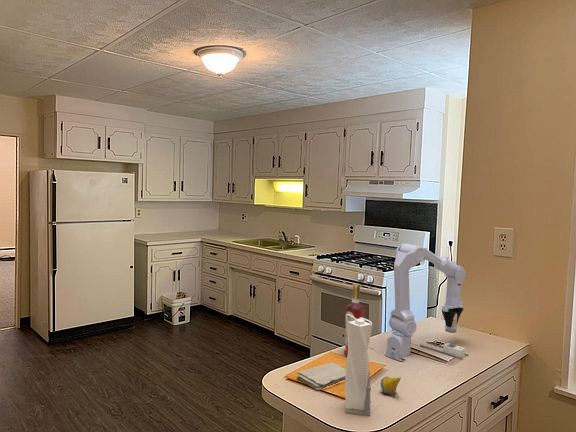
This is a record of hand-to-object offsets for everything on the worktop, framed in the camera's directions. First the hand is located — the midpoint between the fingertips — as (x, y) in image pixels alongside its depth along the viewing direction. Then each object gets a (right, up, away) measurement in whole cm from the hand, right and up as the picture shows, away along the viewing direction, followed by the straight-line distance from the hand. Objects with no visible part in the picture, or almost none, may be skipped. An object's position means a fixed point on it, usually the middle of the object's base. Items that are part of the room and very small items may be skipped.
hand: (451, 325), depth 179 cm
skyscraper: (-48, -12, -51) cm, 71 cm away
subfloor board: (-2, -10, -5) cm, 11 cm away
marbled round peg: (0, -3, 0) cm, 3 cm away
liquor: (-43, -9, -12) cm, 45 cm away
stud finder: (-3, -9, -10) cm, 14 cm away
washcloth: (-55, -10, -33) cm, 65 cm away
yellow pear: (-35, -11, -42) cm, 56 cm away
